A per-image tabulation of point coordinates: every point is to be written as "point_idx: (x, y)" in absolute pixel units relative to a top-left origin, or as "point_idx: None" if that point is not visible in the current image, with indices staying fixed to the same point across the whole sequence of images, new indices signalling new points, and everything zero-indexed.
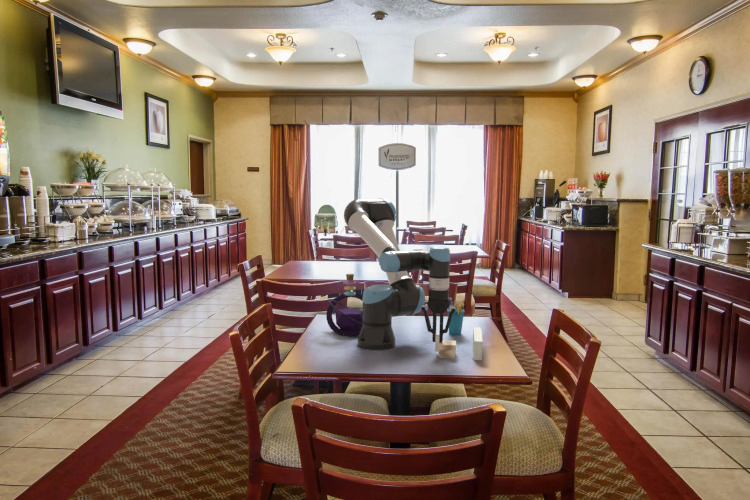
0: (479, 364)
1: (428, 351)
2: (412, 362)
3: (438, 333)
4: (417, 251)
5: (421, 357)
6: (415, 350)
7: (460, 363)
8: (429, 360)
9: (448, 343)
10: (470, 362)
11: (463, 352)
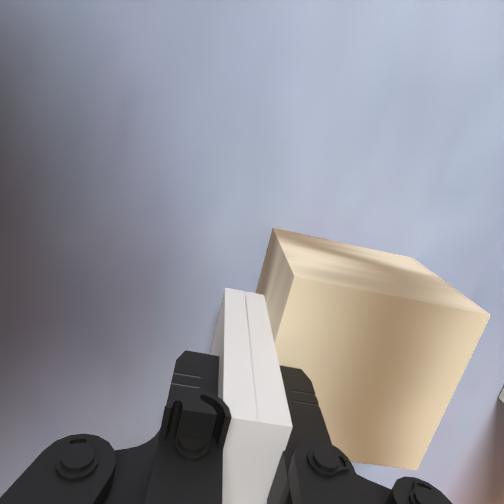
0: (495, 474)
1: (162, 209)
2: (19, 475)
3: (257, 468)
4: None
5: (89, 372)
6: (23, 181)
7: (373, 467)
8: (154, 430)
9: (362, 414)
10: (451, 446)
11: (496, 227)
